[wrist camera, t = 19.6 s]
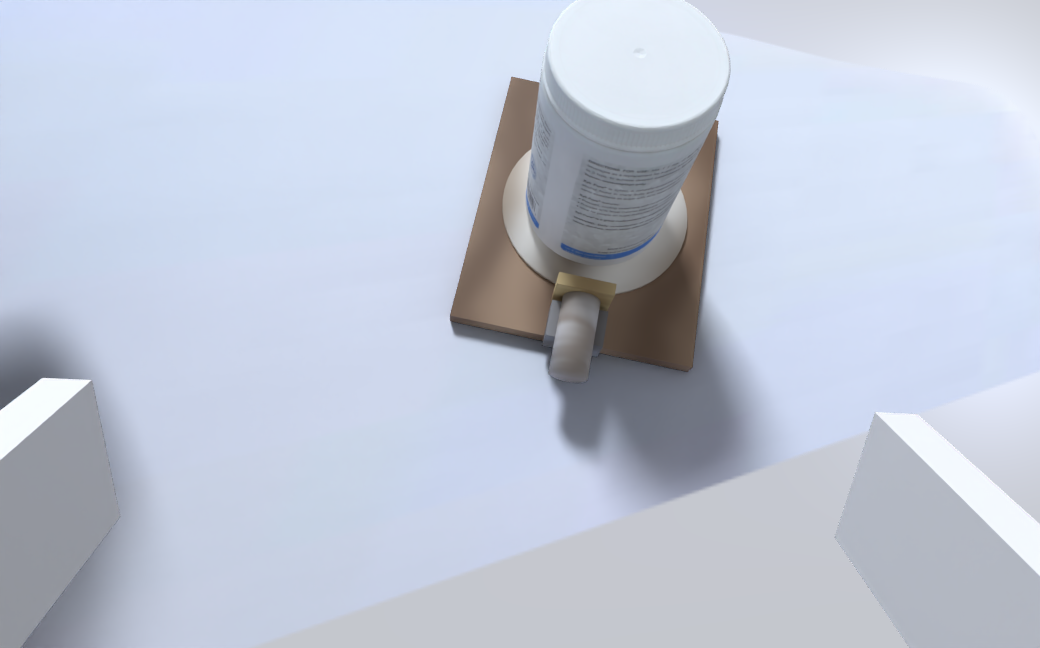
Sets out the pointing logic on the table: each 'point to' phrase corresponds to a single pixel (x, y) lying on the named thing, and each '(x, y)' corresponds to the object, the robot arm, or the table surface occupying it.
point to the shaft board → (581, 267)
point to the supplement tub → (620, 123)
